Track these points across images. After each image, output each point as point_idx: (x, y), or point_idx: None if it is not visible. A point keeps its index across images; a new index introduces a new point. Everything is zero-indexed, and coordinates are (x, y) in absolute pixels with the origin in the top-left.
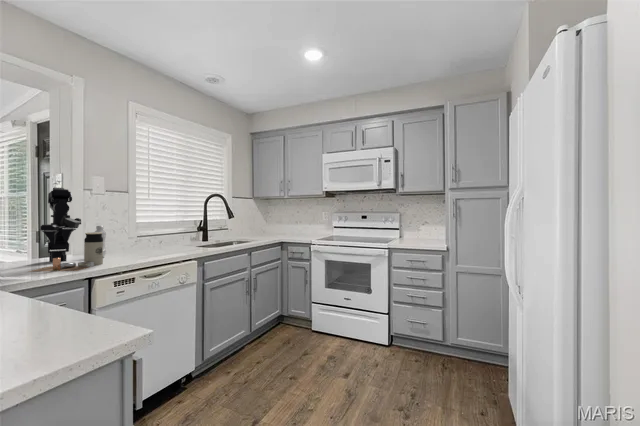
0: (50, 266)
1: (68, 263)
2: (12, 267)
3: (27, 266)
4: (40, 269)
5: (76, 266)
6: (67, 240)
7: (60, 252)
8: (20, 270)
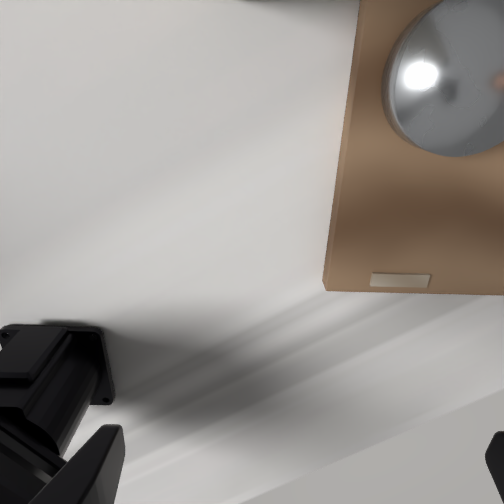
0: (340, 276)
1: (480, 71)
2: (238, 482)
3: (206, 442)
4: (492, 262)
5: (401, 14)
6: (103, 454)
7: (24, 416)
8: (361, 399)
